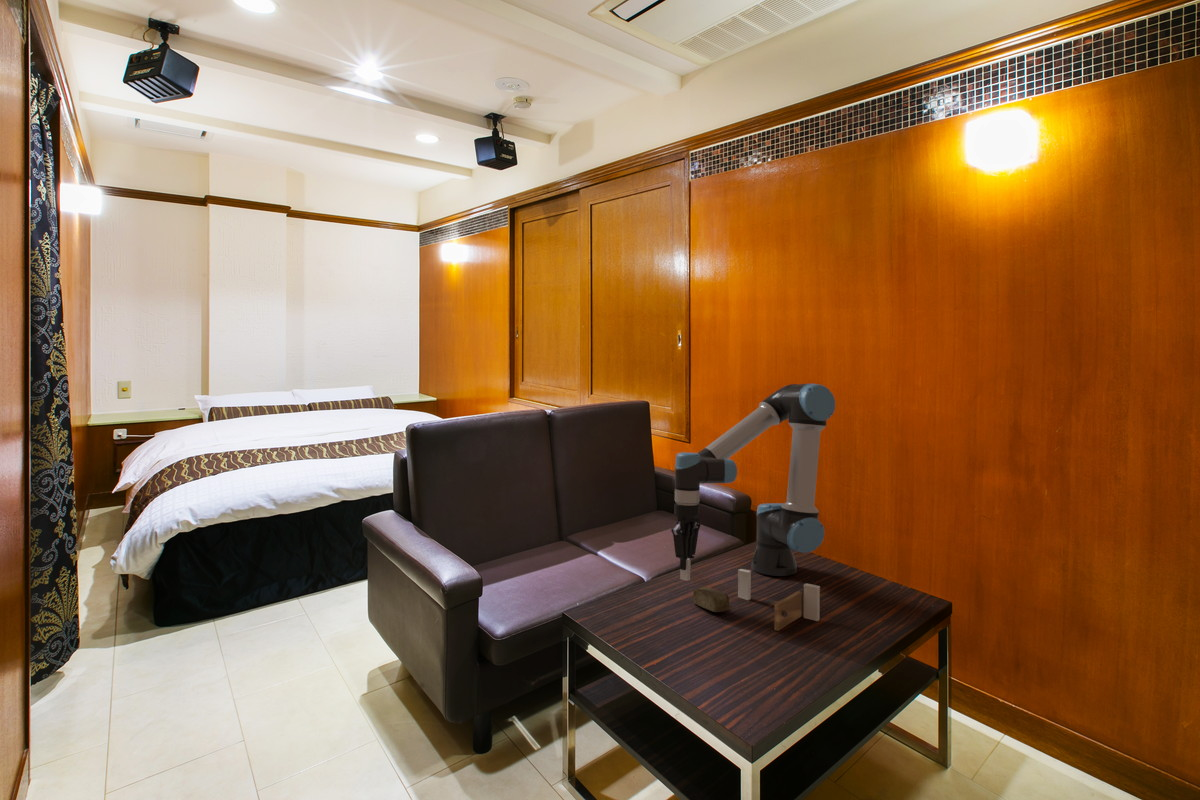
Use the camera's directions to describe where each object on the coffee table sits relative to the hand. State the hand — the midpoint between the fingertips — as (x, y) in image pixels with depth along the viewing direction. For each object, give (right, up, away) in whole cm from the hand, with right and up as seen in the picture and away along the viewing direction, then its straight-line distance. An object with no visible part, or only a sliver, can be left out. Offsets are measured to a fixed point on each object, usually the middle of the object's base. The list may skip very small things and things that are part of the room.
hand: (685, 579), depth 180 cm
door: (+28, -8, -15) cm, 33 cm away
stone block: (+9, -9, -7) cm, 14 cm away
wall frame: (+26, -8, -4) cm, 28 cm away
